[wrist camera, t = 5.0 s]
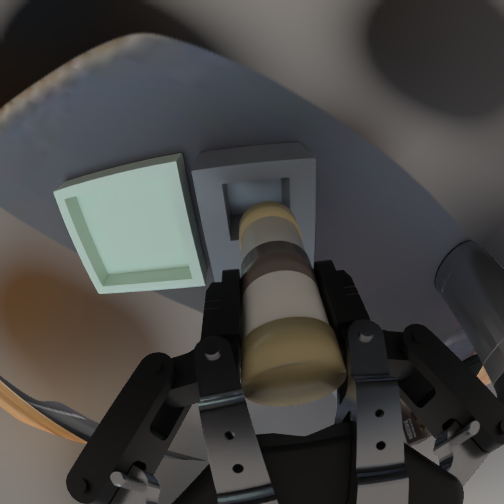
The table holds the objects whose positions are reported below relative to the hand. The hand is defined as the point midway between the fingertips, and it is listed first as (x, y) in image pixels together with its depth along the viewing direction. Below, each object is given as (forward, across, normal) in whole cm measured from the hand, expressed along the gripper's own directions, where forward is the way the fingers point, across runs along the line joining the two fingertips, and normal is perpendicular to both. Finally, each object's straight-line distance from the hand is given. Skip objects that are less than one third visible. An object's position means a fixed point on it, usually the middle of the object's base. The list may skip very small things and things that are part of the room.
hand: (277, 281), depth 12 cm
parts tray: (+12, +12, +3) cm, 17 cm away
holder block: (+13, 0, +4) cm, 13 cm away
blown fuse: (+5, 0, 0) cm, 5 cm away
